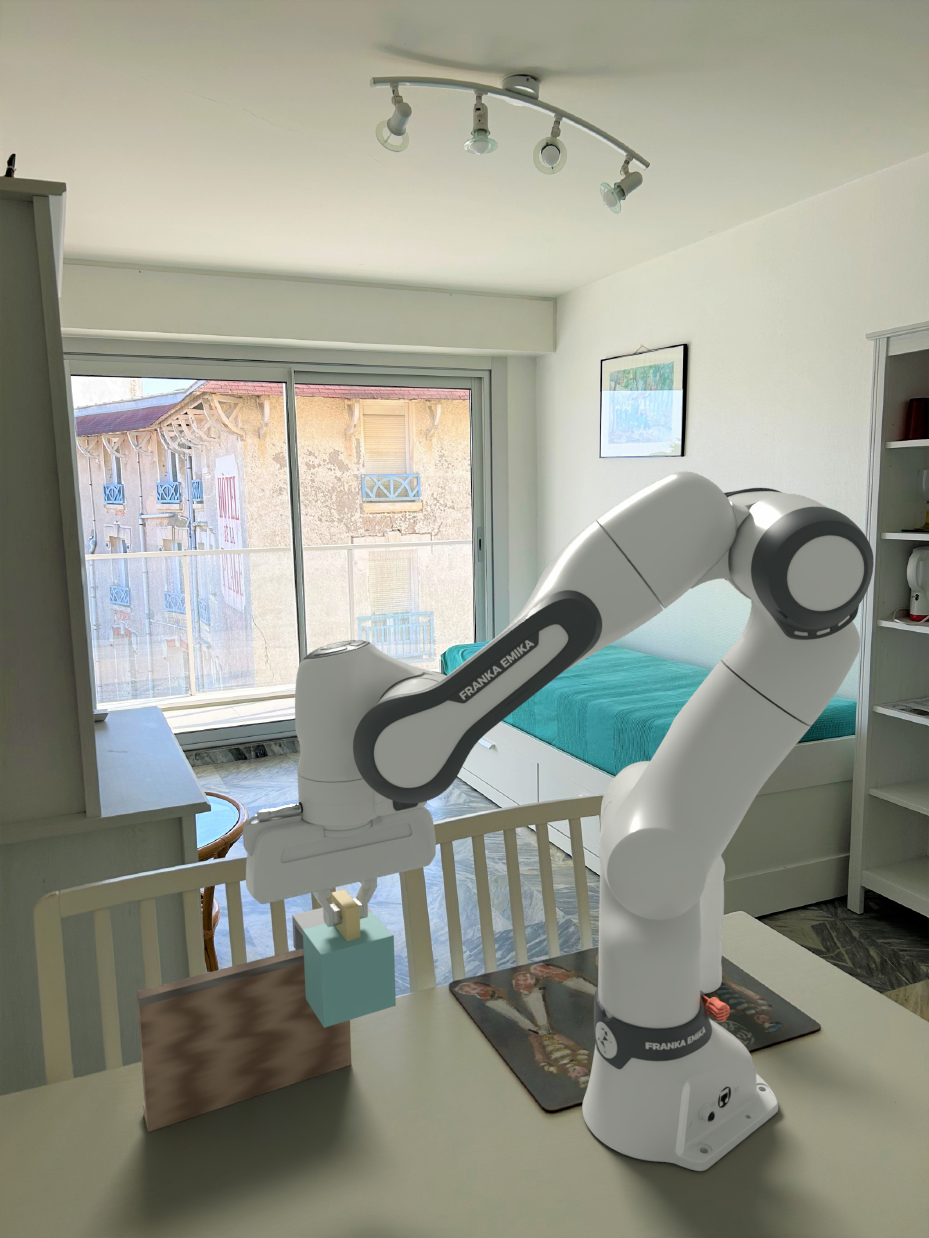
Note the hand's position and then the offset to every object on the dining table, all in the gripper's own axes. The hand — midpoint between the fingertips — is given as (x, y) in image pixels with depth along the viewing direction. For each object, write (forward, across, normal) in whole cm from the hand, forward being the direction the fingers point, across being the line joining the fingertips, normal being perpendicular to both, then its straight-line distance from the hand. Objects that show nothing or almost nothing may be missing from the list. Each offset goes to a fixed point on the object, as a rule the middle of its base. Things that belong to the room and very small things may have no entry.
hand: (346, 920), depth 94 cm
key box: (+9, 0, +1) cm, 9 cm away
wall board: (+25, -8, +12) cm, 29 cm away
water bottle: (+25, +54, +5) cm, 60 cm away
